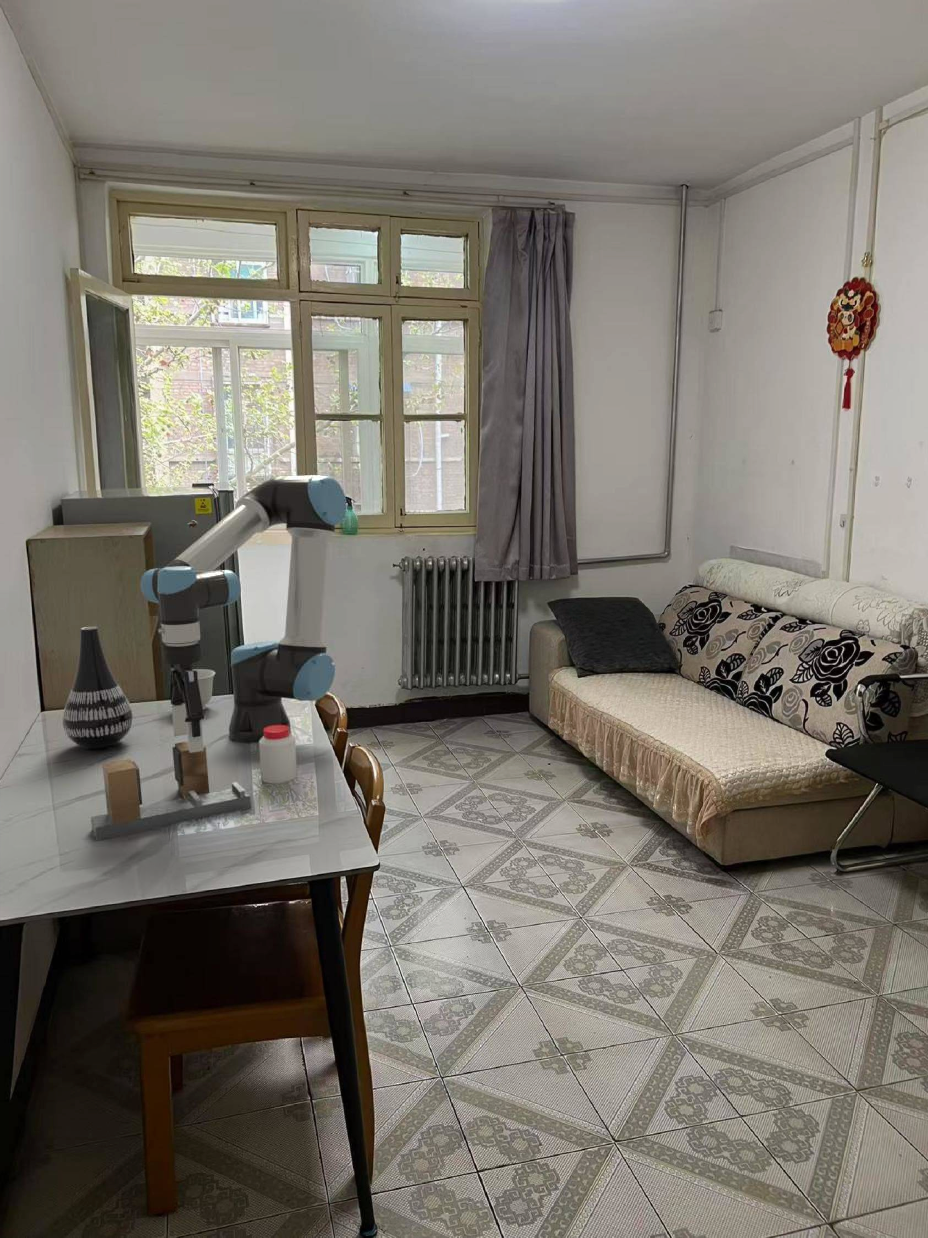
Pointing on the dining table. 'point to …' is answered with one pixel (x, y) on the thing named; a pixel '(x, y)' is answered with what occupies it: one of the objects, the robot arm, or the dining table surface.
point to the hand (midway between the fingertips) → (188, 743)
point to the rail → (133, 818)
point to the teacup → (205, 685)
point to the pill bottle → (277, 755)
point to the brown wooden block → (190, 769)
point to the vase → (95, 699)
